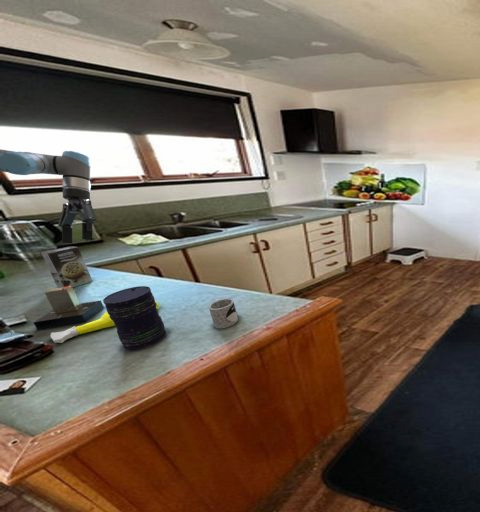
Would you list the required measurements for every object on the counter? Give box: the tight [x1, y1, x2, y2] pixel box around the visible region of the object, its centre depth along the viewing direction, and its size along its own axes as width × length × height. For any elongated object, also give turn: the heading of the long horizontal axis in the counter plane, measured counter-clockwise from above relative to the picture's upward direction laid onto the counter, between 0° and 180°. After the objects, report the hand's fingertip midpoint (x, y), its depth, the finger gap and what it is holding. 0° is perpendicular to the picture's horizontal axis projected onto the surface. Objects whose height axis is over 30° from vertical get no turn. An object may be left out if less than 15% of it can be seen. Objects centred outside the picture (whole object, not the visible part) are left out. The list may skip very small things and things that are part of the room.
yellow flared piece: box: [50, 300, 160, 344], centre depth 88 cm, size 3×11×24 cm
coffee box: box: [40, 246, 94, 288], centre depth 115 cm, size 9×6×16 cm
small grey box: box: [44, 286, 82, 314], centre depth 89 cm, size 6×2×8 cm, turn 109°
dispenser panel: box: [32, 300, 105, 331], centre depth 91 cm, size 12×10×3 cm
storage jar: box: [102, 285, 168, 352], centre depth 76 cm, size 10×10×15 cm
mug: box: [208, 297, 239, 329], centre depth 86 cm, size 10×7×7 cm, turn 9°
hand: (77, 241), depth 110 cm, fingers open, 13 cm apart
